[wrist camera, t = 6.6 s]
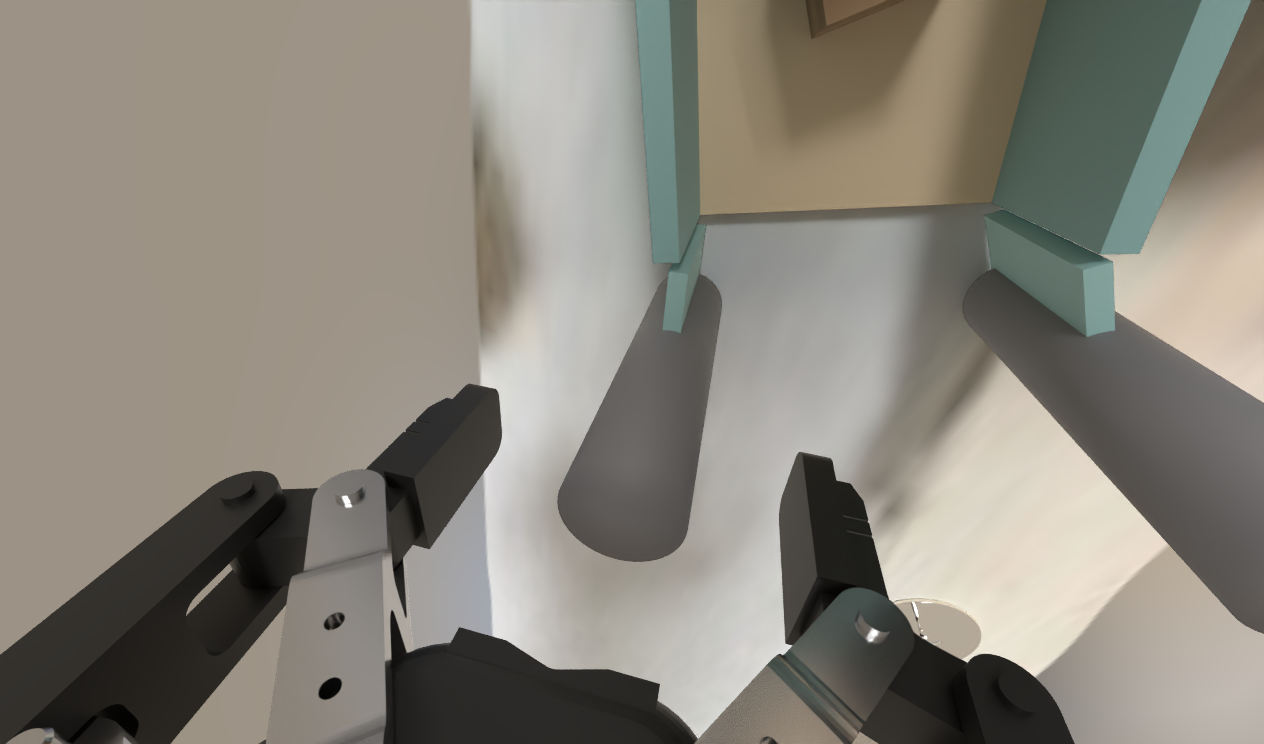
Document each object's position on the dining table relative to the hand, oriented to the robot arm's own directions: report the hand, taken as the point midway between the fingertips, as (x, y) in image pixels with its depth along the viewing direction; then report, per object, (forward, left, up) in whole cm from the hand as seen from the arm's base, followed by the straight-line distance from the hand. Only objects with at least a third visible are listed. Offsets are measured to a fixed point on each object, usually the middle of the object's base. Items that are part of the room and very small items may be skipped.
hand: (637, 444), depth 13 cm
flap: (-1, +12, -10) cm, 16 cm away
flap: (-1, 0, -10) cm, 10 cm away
